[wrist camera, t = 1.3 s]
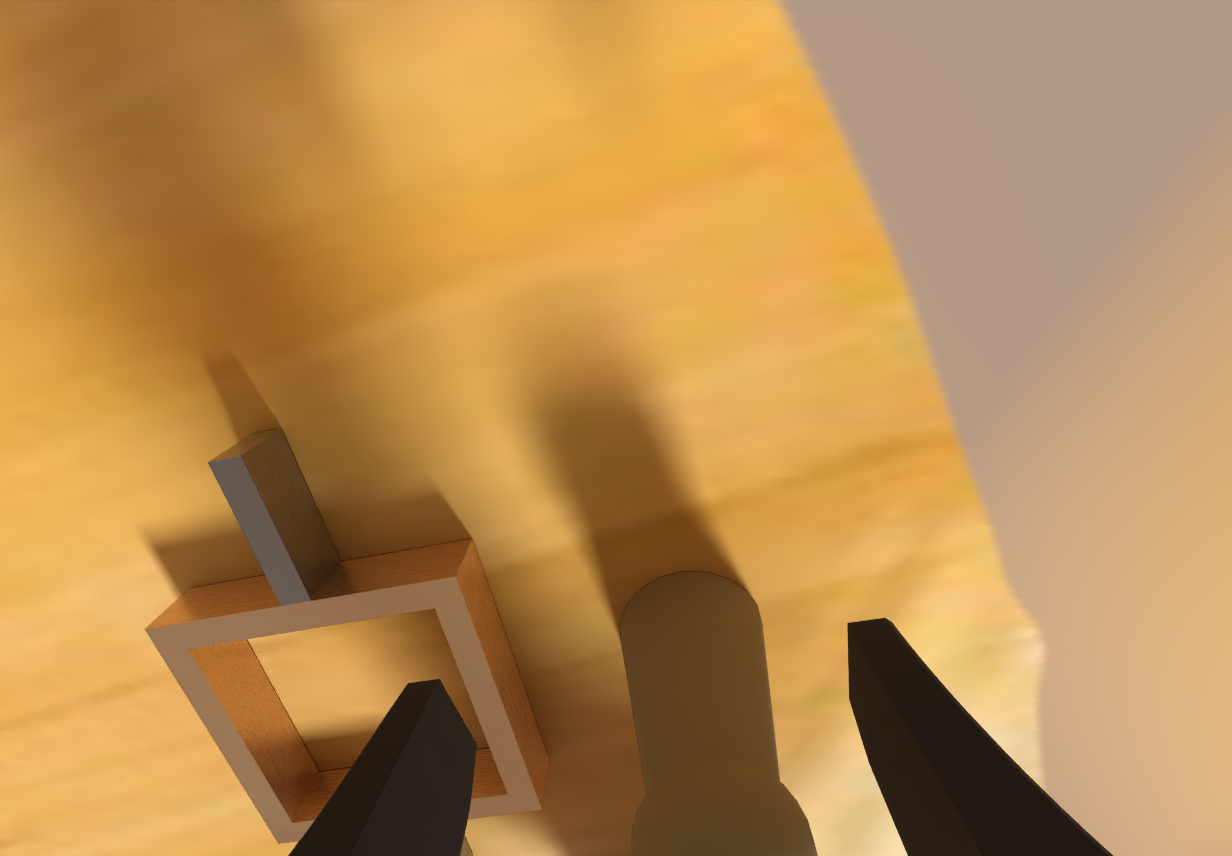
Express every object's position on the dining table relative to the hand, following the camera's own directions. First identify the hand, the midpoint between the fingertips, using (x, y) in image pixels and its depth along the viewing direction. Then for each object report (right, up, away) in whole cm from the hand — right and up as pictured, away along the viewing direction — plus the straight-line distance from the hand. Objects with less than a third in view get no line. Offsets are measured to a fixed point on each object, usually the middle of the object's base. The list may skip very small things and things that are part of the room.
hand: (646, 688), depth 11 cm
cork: (+3, -4, +15) cm, 16 cm away
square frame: (-11, -7, +16) cm, 21 cm away
